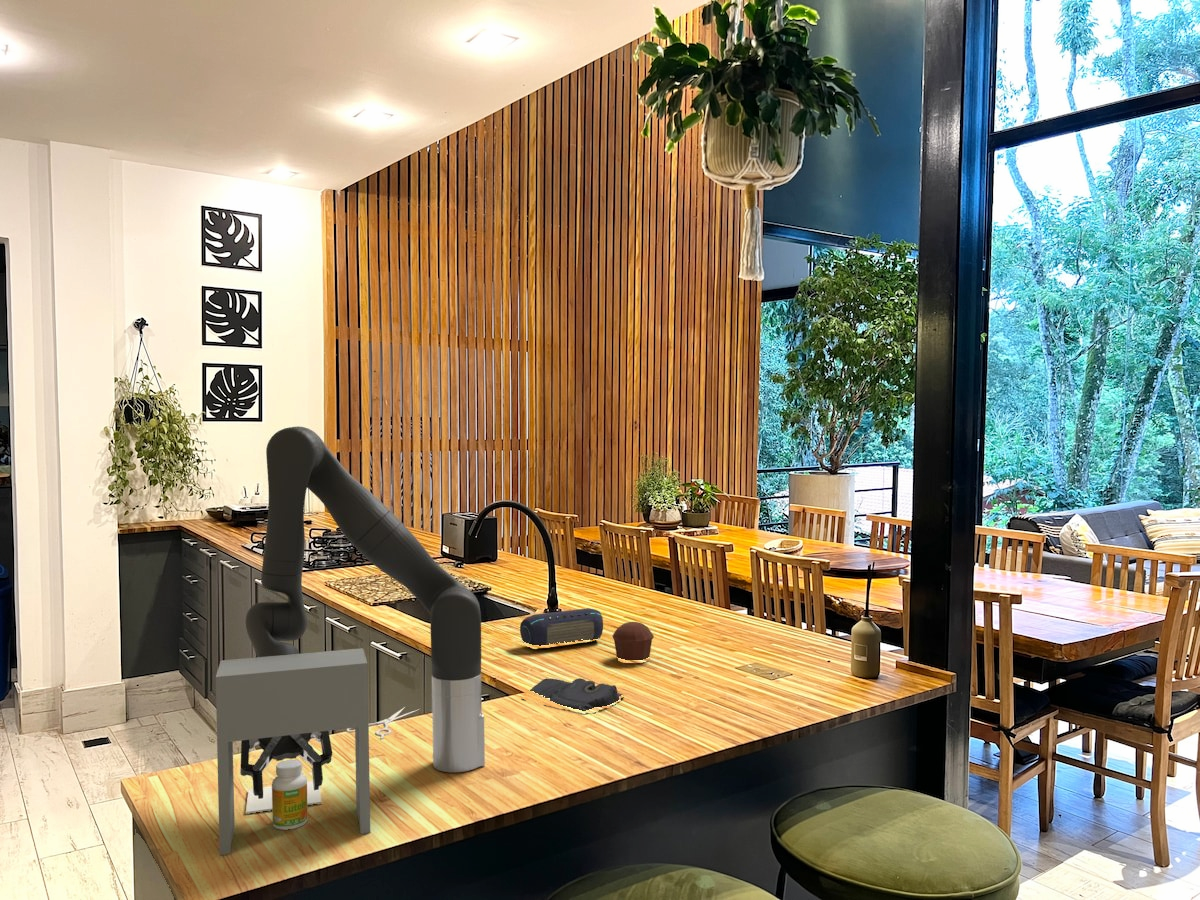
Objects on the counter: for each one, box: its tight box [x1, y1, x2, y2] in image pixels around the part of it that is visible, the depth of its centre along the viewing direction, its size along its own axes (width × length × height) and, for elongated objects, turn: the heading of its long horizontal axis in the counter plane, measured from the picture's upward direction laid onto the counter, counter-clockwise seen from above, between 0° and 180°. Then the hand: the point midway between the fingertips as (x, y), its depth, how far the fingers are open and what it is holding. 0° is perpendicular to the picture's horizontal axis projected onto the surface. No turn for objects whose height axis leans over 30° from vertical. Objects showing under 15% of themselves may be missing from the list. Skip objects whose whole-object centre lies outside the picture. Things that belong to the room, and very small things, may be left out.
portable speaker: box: [519, 607, 604, 646], centre depth 262 cm, size 25×10×10 cm, turn 118°
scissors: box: [346, 706, 420, 740], centre depth 196 cm, size 11×1×20 cm
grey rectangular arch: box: [215, 647, 371, 856], centre depth 144 cm, size 22×11×27 cm, turn 109°
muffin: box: [611, 621, 655, 660], centre depth 245 cm, size 12×11×10 cm
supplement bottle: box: [271, 759, 309, 831], centre depth 146 cm, size 5×5×10 cm
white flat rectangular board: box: [245, 780, 322, 815], centre depth 156 cm, size 12×10×1 cm
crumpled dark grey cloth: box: [529, 677, 623, 711], centre depth 210 cm, size 15×22×5 cm
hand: (289, 792), depth 145 cm, fingers open, 8 cm apart
